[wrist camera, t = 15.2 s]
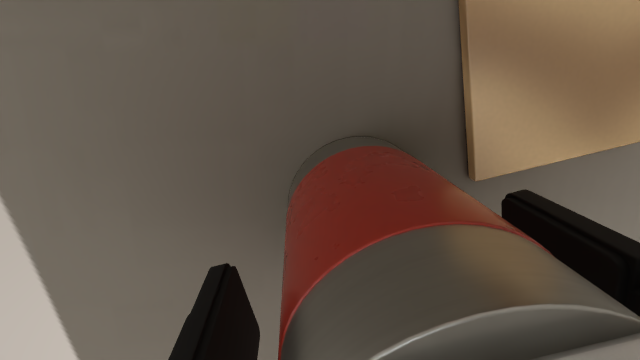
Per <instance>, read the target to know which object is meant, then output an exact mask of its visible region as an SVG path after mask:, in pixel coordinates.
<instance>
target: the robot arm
mask: <svg viewBox="0 0 640 360" xmlns="http://www.w3.org/2000/svg"><path fill="white" fill-rule="evenodd" d="M502 218H503V219H505V220H506V221H508V222H509V223H510V224H512V225H513V226H515V227H516V228H518V229H519V230H521V231H522V232H524V233H525V234H526V235H528V236H529V237H531V238H532V239H534V240H535V241H537V242H538V243H539V244H540V245H542V246H543V247H544V248H546V249H547V250H548V251H549V252H550V253H551V254H552V255H553V256H554V257H555V258H556V259H558V260H559V261H561V262H562V263H563V264H565V265H566V266H568V267H569V268H571V269H572V270H573V271H575V272H576V273H578V274H579V275H581V276H582V277H583V278H585V279H586V280H588V281H589V282H591V283H592V284H593V285H595V286H596V287H598V288H599V289H601V290H602V291H603V292H605V293H606V294H608V295H609V296H611V297H612V298H613V299H615V300H616V301H618V302H619V303H621V304H622V305H623V306H625V307H626V308H628V309H629V310H631V311H632V312H633V313H635V314H636V315H638V316H639V317H640V243H639V242H637V241H635V240H632V239H630V238H628V237H626V236H624V235H622V234H620V233H618V232H616V231H613V230H611V229H609V228H607V227H605V226H603V225H601V224H599V223H597V222H594V221H592V220H590V219H588V218H586V217H584V216H582V215H580V214H577V213H575V212H573V211H571V210H569V209H567V208H565V207H563V206H561V205H558V204H556V203H554V202H552V201H550V200H548V199H546V198H544V197H542V196H539V195H537V194H535V193H533V192H531V191H529V190H521V191H517V192H513V193H509V194H507V195H506V197H505V199H503V200H502ZM259 340H260V331H259V326H258V323H257V321H256V318H255V315H254V313H253V310H252V308H251V305H250V302H249V300H248V297H247V294H246V292H245V289H244V287H243V284H242V281H241V279H240V276H239V274H238V271H237V269H236V267H235V266H232V267H231V266H230V265H229V264H228V263H226V264H222V265H218V266H214V267H211V268H210V269H209V271H208V274H207V276H206V278H205V281H204V283H203V285H202V288H201V290H200V292H199V295H198V297H197V299H196V302H195V304H194V306H193V309H192V311H191V313H190V314H189V315H188V317H187V318H186V321H185V323H184V325H183V327H182V330H181V332H180V334H179V337H178V339H177V341H176V343H175V346H174V348H173V350H172V353H171V355H170V357H169V359H168V360H257V356H258V348H259ZM531 360H640V333H636V334H632V335H628V336H624V337H620V338H616V339H612V340H608V341H604V342H600V343H596V344H592V345H588V346H583V347H579V348H575V349H571V350H567V351H563V352H559V353H555V354H551V355H547V356H543V357H539V358H535V359H531Z"/></svg>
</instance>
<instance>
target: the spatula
mask: <svg viewBox="0 0 640 360" xmlns="http://www.w3.org/2000/svg"><path fill="white" fill-rule="evenodd" d="M458 1H459V17H460V34H461V51H462V68H463V85H464V102H465V119H466V135H467V152H468V169H469V178H470V179H472V180H474V181H480V180H484V179H488V178H492V177H496V176H501V175H505V174H509V173H513V172H517V171H521V170H525V169H530V168H534V167H538V166H542V165H546V164H550V163H554V162H558V161H563V160H567V159H571V158H575V157H579V156H583V155H587V154H591V153H596V152H600V151H604V150H608V149H612V148H616V147H620V146H624V145H629V144H633V143H637V142H640V0H458Z"/></svg>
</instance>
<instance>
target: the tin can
mask: <svg viewBox="0 0 640 360" xmlns="http://www.w3.org/2000/svg"><path fill="white" fill-rule="evenodd" d="M636 333H640V317H639V316H638V315H636V314H635V313H633V312H632V311H631V310H629V309H628V308H626V307H625V306H623V305H622V304H621V303H619V302H618V301H616V300H615V299H613V298H612V297H611V296H609V295H608V294H606V293H605V292H603V291H602V290H601V289H599V288H598V287H596V286H595V285H593V284H592V283H591V282H589V281H588V280H586V279H585V278H583V277H582V276H581V275H579V274H578V273H576V272H575V271H573V270H572V269H571V268H569V267H568V266H566V265H565V264H563V263H562V262H561V261H559V260H558V259H556V258H555V257H554V256H553V255H552V254H551V253H550V252H549V251H548V250H547V249H546V248H544V247H543V246H542V245H540V244H539V243H538V242H537V241H535V240H534V239H532V238H531V237H529V236H528V235H526V234H525V233H524V232H522V231H521V230H519V229H518V228H516V227H515V226H513V225H512V224H510V223H509V222H508V221H506V220H505V219H503V218H502V217H500V216H499V215H497V214H496V213H494V212H493V211H492V210H490V209H489V208H487V207H486V206H484V205H483V204H481V203H480V202H478V201H477V200H476V199H474V198H473V197H471V196H470V195H468V194H467V193H465V192H464V191H462V190H461V189H460V188H458V187H457V186H455V185H454V184H452V183H451V182H449V181H448V180H446V179H445V178H444V177H442V176H441V175H439V174H438V173H436V172H435V171H433V170H432V169H430V168H429V167H428V166H426V165H425V164H423V163H422V162H420V161H419V160H417V159H416V158H414V157H413V156H411V155H409V154H407V153H405V152H404V151H402V150H401V149H399V148H398V147H396V146H395V145H393V144H391V143H389V142H386V141H384V140H381V139H377V138H373V137H363V136H362V137H349V138H344V139H340V140H337V141H334V142H332V143H330V144H327V145H325V146H324V147H322V148H320V149H319V150H317V151H316V152H315V153H314V154H312V155H311V156H310V157H309V158H308V159H307V160H306V161H305V162H304V163H303V165H302V166H301V167H300V169H299V170H298V172H297V174H296V176H295V178H294V180H293V182H292V185H291V188H290V193H289V202H288V211H287V218H286V234H285V251H284V268H283V284H282V301H281V318H280V335H279V352H278V360H531V359H535V358H539V357H543V356H547V355H551V354H555V353H559V352H563V351H567V350H571V349H575V348H579V347H583V346H588V345H592V344H596V343H600V342H604V341H608V340H612V339H616V338H620V337H624V336H628V335H632V334H636Z"/></svg>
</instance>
